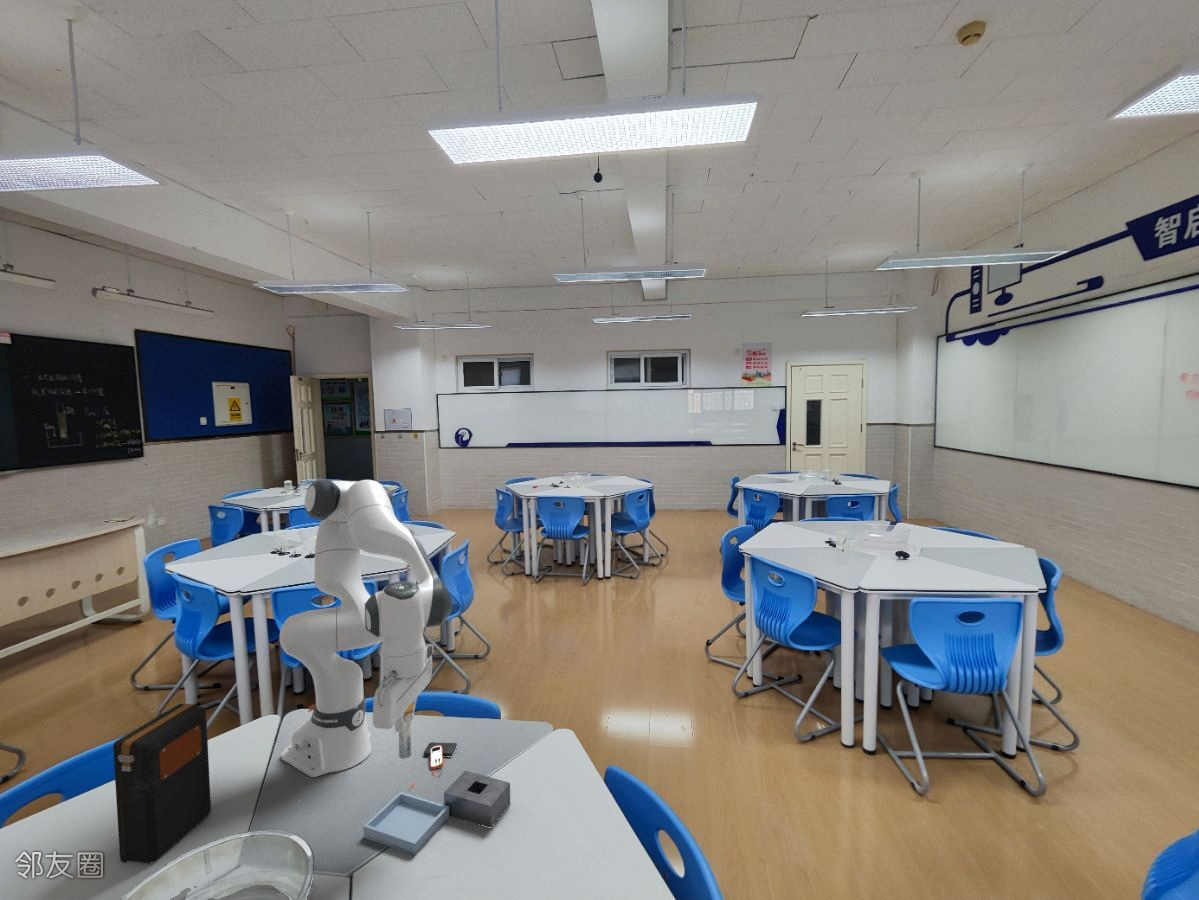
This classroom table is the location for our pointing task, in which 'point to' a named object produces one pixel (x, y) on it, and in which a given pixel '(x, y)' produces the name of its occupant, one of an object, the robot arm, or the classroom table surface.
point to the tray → (406, 823)
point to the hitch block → (477, 798)
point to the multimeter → (438, 753)
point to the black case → (161, 782)
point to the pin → (406, 735)
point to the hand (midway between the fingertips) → (405, 724)
